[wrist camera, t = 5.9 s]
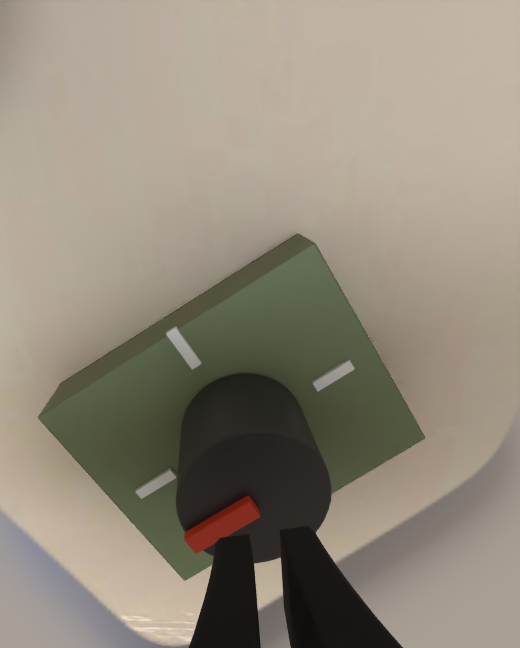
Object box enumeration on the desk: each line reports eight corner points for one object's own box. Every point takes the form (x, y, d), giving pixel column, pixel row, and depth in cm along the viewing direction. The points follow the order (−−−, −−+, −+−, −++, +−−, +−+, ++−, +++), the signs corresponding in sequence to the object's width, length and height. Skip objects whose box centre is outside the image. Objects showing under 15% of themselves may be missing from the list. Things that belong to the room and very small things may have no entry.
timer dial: (264, 349, 15) (286, 407, 11) (325, 442, 16) (362, 522, 12) (156, 415, 15) (141, 493, 11) (223, 502, 16) (230, 598, 12)
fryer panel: (296, 230, 16) (314, 240, 14) (398, 407, 19) (429, 443, 16) (57, 381, 17) (32, 417, 14) (187, 534, 19) (185, 587, 17)
